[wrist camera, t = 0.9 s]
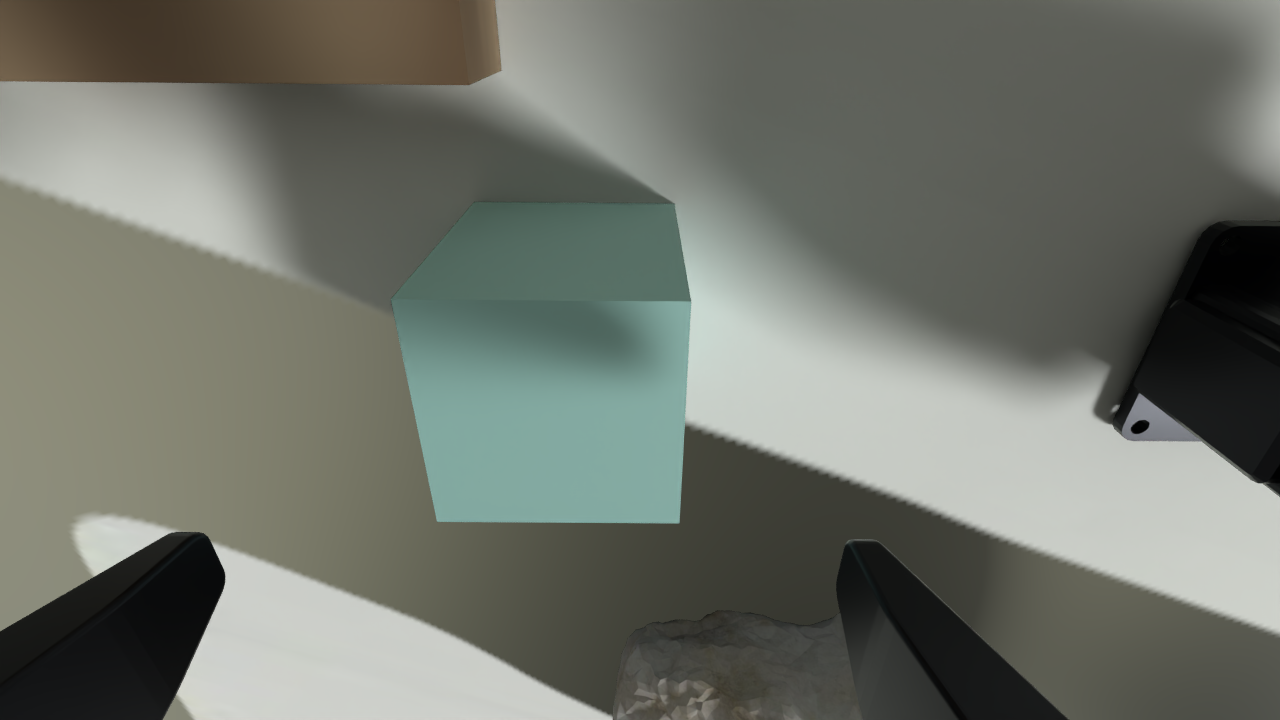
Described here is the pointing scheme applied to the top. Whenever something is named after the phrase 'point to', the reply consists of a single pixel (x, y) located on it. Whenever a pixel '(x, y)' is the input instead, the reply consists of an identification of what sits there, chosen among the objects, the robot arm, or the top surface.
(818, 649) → the stone
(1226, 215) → the top surface
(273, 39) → the walnut base
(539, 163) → the top surface
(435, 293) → the teal block
